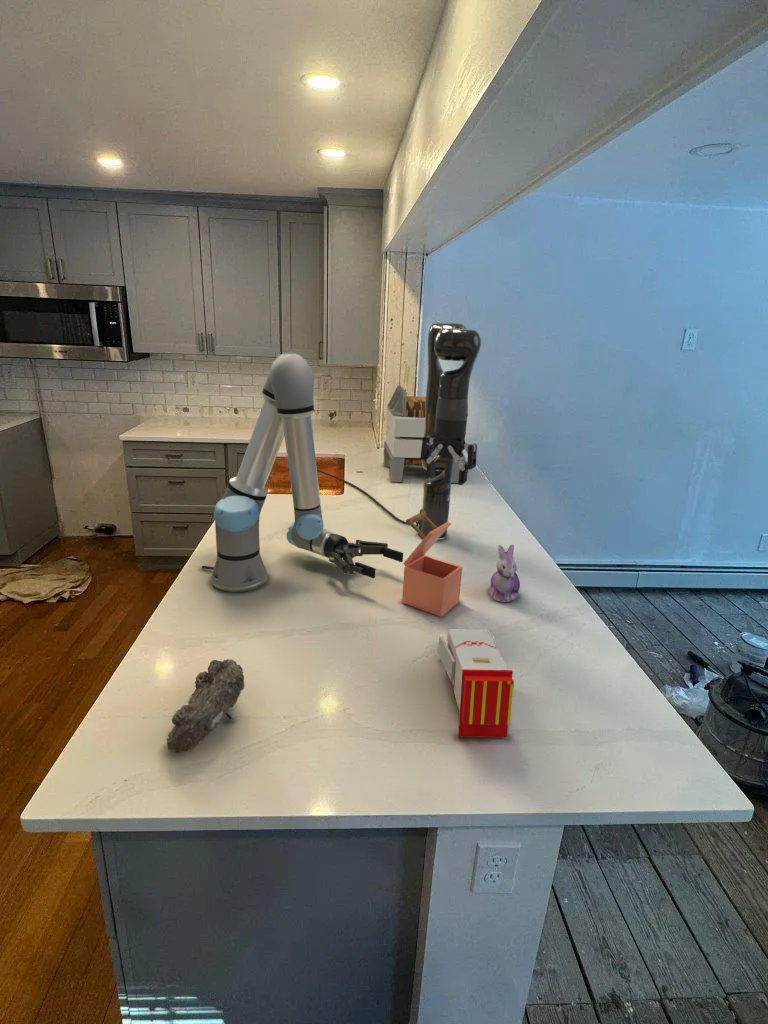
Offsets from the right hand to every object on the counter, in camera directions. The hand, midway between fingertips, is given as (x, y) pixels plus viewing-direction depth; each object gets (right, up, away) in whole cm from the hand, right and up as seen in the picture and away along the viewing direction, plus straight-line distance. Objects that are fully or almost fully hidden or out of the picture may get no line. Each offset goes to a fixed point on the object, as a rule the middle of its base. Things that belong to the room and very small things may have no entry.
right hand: (446, 480), depth 142 cm
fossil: (-48, -47, -33) cm, 75 cm away
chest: (-3, -32, +13) cm, 35 cm away
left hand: (-14, -23, +17) cm, 32 cm away
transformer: (+2, +11, +133) cm, 134 cm away
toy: (+2, -45, -23) cm, 51 cm away
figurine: (+18, -31, +18) cm, 41 cm away
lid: (-4, -17, +8) cm, 19 cm away
